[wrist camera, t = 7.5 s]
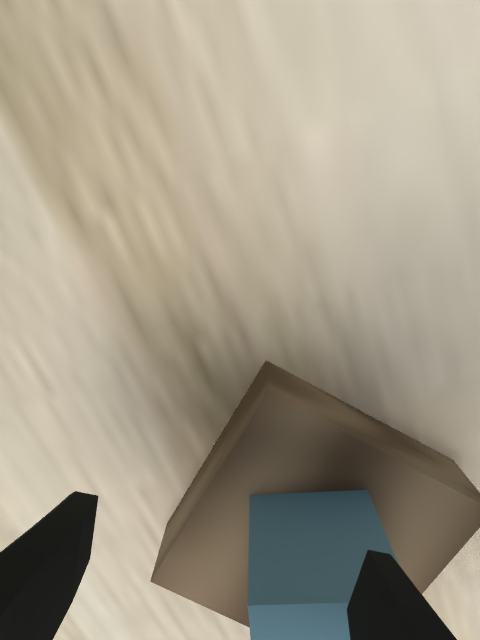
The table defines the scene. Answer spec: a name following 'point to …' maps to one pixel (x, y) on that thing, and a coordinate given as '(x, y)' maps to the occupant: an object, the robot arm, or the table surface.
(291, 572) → the teal cube
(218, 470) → the plate
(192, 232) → the table surface
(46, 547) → the robot arm
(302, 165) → the table surface
